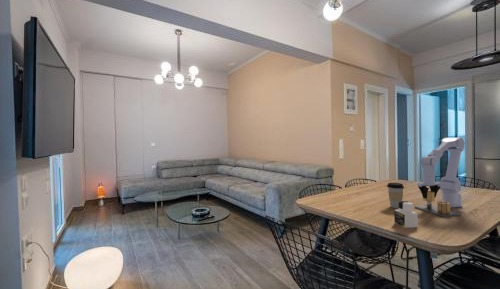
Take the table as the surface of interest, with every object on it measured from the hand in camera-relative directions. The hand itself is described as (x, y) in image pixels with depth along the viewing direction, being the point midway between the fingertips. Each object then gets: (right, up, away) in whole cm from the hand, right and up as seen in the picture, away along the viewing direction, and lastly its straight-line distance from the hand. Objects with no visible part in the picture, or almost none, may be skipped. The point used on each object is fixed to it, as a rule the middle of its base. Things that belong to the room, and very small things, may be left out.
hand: (429, 197), depth 142 cm
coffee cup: (-17, -8, +6) cm, 20 cm away
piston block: (+1, -7, -4) cm, 8 cm away
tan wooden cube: (0, -2, 0) cm, 2 cm away
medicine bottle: (-31, -9, -25) cm, 41 cm away
